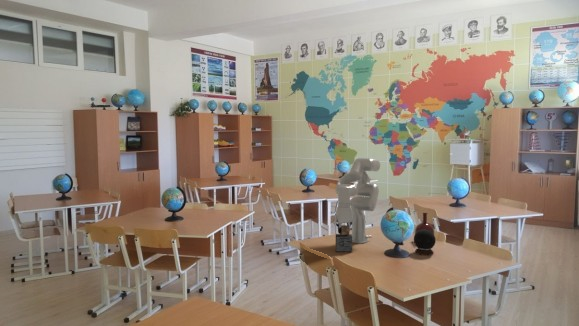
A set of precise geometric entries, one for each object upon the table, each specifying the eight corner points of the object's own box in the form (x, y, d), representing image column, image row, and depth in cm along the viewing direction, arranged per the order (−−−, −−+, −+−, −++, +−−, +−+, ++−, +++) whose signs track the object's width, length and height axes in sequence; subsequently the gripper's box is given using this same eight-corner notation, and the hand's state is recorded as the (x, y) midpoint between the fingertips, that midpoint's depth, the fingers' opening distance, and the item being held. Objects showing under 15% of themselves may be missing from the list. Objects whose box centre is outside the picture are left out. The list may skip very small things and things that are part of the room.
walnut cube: (345, 232, 271) (345, 225, 271) (349, 234, 266) (349, 226, 266) (338, 233, 269) (338, 225, 269) (342, 235, 265) (342, 227, 264)
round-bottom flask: (437, 244, 283) (437, 215, 282) (417, 244, 284) (418, 215, 282) (430, 239, 296) (431, 211, 295) (412, 239, 297) (412, 211, 295)
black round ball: (409, 251, 267) (409, 228, 266) (426, 249, 271) (427, 226, 270) (421, 256, 255) (422, 232, 254) (439, 254, 259) (440, 230, 258)
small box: (351, 249, 271) (351, 233, 270) (352, 252, 265) (352, 236, 264) (335, 249, 272) (335, 233, 272) (335, 252, 266) (335, 236, 265)
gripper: (353, 203, 273) (353, 230, 274) (329, 205, 267) (329, 232, 269) (358, 205, 266) (358, 233, 267) (334, 206, 260) (334, 235, 262)
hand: (343, 232), depth 268 cm, fingers closed on walnut cube, 5 cm apart
